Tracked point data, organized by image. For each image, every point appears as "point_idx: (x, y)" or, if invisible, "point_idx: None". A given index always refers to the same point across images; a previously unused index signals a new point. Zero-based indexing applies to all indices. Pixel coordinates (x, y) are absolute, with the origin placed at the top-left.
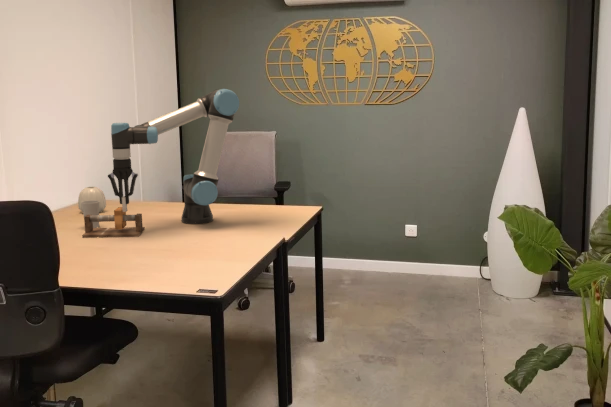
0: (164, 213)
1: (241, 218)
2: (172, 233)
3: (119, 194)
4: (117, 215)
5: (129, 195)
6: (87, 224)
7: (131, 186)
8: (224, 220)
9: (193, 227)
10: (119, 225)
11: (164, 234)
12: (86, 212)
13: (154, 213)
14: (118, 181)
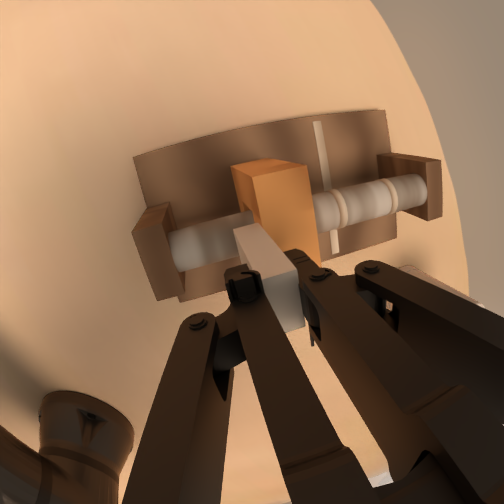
0: (241, 465)
1: (17, 435)
2: (31, 250)
3: (335, 280)
4: (271, 167)
5: (217, 320)
6: (405, 156)
7: (179, 410)
8: (30, 423)
9: (31, 350)
10: (247, 164)
11: (48, 226)
12: (449, 289)
13: (269, 459)
14: (454, 390)
